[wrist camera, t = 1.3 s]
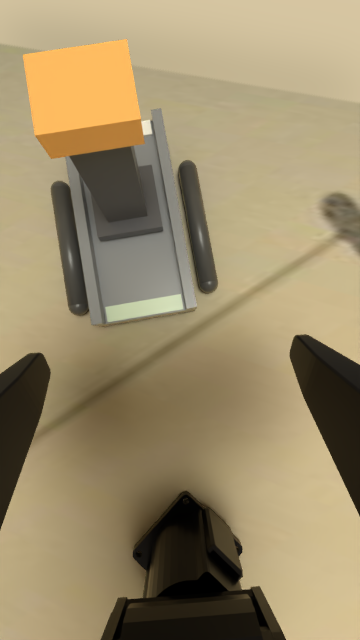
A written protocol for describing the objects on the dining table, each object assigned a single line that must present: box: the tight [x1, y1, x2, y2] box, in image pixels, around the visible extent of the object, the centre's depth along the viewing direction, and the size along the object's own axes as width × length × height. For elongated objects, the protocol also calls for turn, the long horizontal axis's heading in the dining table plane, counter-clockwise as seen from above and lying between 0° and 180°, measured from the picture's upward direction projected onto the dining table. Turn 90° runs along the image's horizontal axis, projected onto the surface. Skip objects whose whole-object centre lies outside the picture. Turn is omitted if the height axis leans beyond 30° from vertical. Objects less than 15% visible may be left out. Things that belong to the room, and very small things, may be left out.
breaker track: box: [51, 108, 218, 327], centre depth 21 cm, size 16×13×3 cm
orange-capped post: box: [23, 39, 163, 241], centre depth 16 cm, size 5×5×10 cm
